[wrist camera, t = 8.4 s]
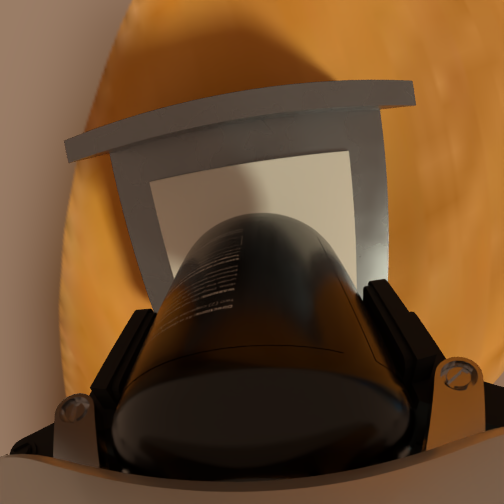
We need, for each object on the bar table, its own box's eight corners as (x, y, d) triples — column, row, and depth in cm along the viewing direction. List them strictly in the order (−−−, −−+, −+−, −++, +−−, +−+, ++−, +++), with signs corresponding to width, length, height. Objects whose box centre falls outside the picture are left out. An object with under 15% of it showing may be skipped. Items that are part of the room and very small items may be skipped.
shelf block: (367, 297, 22) (406, 369, 14) (182, 320, 23) (154, 398, 16) (354, 97, 17) (412, 80, 9) (134, 133, 18) (64, 140, 10)
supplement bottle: (196, 350, 15) (140, 595, 4) (171, 214, 12) (-49, 512, 1) (337, 344, 14) (394, 592, 3) (345, 204, 12) (571, 514, 1)
